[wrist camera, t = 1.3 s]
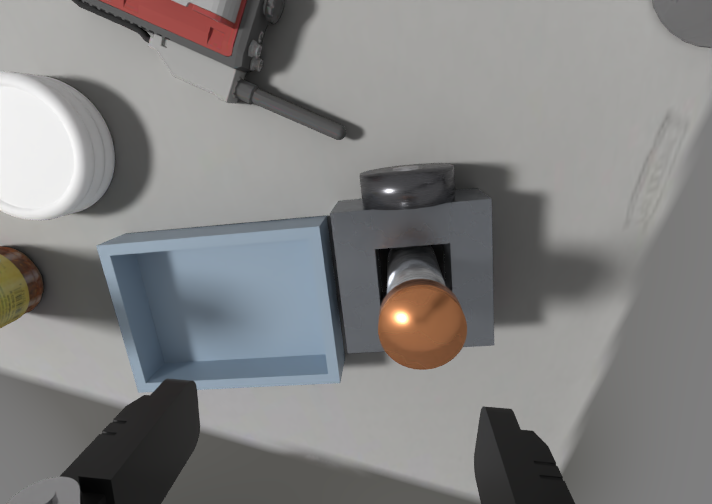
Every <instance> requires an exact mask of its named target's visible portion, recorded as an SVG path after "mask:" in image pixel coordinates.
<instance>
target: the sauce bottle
mask: <svg viewBox="0 0 712 504" xmlns="http://www.w3.org/2000/svg"><path fill="white" fill-rule="evenodd" d="M43 285H44V284H43V281H42V276H41V274H40V272H39V271H38V268H37V267H36V266H35V265H34V264H33V262H32V261H31V260H30V259H29V258H28V257H27V256H26V255H25V254H23V253H22V252H20V251H18V250H15V249H13V248H10V247H2V246H0V328H2V327H4V326H5V325H7V324H9V323H11V322H13V321H15V320H17V319H18V318H20V317H21V316H22V315H23V314H25V313H27V312H30V311H31V310H32V309H34V308H35V307H36V306H37V305H38V303H39V302H40V300H41V296H42V293H43V290H44V289H43Z"/></svg>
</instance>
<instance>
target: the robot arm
mask: <svg viewBox="0 0 712 504" xmlns="http://www.w3.org/2000/svg"><path fill="white" fill-rule="evenodd" d="M652 3H653V7H654V9H655V11H656V13H657V15H658V17H659V19H660V21H661V22H662V23H663V24H664V26H665V27H666V28H667V29H668V30H669V31H670V32H671V33H672V34H673V35H675V36H677V37H678V38H680V39H681V40H683V41H685V42H688V43H691V44H694V45H697V46H704V47H712V0H652ZM199 432H200V420H199V409H198V397H197V386H196V383H195V382H194V381H192V380H180V379H165V380H164V381H163V382H162V383H161V384H160V385H159V386H158V387H157V389H156V390H155V391H154V392H153V393H152V394H151V395H150V396H149V395H144V396H142V397H140V398H139V399H137V400H135V401H134V402H132V403H131V404H129V405H127V406H126V407H125V408H124V409H123V410H122V411H121V412H120V413H119V414H118V415H117V416H116V418H114V420H113V422H112V423H110V424H109V425H108V426H107V427H106V428H105V429H104V430H103V431H102V434H99V435H98V436H97V437H96V439H95V440H94V441H93V442H92V443H91V444H90V445H89V446H88V447H87V448H86V449H85V450H84V451H83V452H82V453H81V454H80V455H79V457H78V458H77V459H76V460H75V461H74V462H73V463H72V464H71V465H70V466H69V467H68V468H67V469H66V470H65V471H64V472H63V473H62V474H61V476H60V477H52V478H48V479H44V480H41V481H38V482H36V483H34V484H31V485H29V486H27V487H26V488H24V489H22V490H21V491H19V492H18V493H17V494H15V495H14V496H13V497H12V498H11V499H10V500H9V501H8V502H7V503H6V504H161V503H162V501H163V500H164V498H165V496H166V495H167V493H168V491H169V490H170V488H171V487H172V485H173V483H174V482H175V480H176V478H177V477H178V475H179V474H180V472H181V470H182V469H183V467H184V465H185V464H186V462H187V460H188V459H189V457H190V456H191V454H192V452H193V451H194V449H195V447H196V444H197V441H198V438H199ZM474 470H475V478H476V483H477V487H478V491H479V496H480V500H481V504H575V503H574V500H573V498H572V496H571V494H570V492H569V490H568V488H567V486H566V483H565V481H563V479H562V475H561V473H560V471H559V469H558V466H556V462H555V460H554V458H553V456H552V454H551V452H550V449H549V447H548V446H547V445H546V444H545V443H544V442H543V441H542V440H541V439H540V438H539V437H538V436H537V435H536V433H535V432H534V431H528V430H521V429H520V427H519V424H518V422H517V419H516V417H515V415H514V412H513V411H512V409H505V408H494V407H482V409H481V413H480V420H479V426H478V433H477V440H476V447H475V454H474Z"/></svg>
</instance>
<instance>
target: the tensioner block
mask: <svg viewBox="0 0 712 504" xmlns="http://www.w3.org/2000/svg"><path fill="white" fill-rule="evenodd" d="M360 184H361V193H362V199H355V200H344V201H338V202H337V204H336V205H335V207H334V208H333V210H332V211H331V213H330V216H331V224H332V232H333V240H334V248H335V256H336V264H337V272H338V280H339V288H340V296H341V304H342V312H343V320H344V328H345V336H346V344H347V352H348V353H363V352H381V351H385V350H384V349H383V347H382V345H381V343H380V340H379V335H378V320H379V310H380V306H381V304H382V301H383V299H384V298H385V296H386V295H387V292H383V291H382V280H381V270H380V259H379V249H384V248H397V247H409V246H422V245H434V244H443V254H444V274H445V285H446V287H447V288H449V289H450V290H451V291H452V292H453V293H454V295H455V296H456V297H457V299H458V301H459V303H460V305H461V308H462V311H463V313H464V316H465V319H466V322H467V336H466V340H465V343H464V345H463V347H472V346H491V345H494V306H493V247H492V199H491V198H490V197H489V196H487V195H486V194H485V193H483V192H482V191H481V190H479V189H478V188H473V189H462V190H455V179H454V165H452V164H444V163H431V164H413V165H403V166H394V167H387V168H380V169H375V170H370V171H366V172H363V173H361V174H360Z"/></svg>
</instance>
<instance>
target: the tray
mask: <svg viewBox="0 0 712 504" xmlns="http://www.w3.org/2000/svg"><path fill="white" fill-rule="evenodd" d="M97 250H98V253H99V257H100V260H101V264H102V267H103V271H104V274H105V278H106V281H107V285H108V288H109V292H110V295H111V299H112V302H113V305H114V309H115V312H116V316H117V319H118V323H119V326H120V330H121V333H122V337H123V340H124V344H125V347H126V351H127V354H128V358H129V361H130V365H131V368H132V371H133V375H134V378H135V382H136V385H137V389H138V392H154V391H155V390H156V389H157V387H158V386H159V385H160V384H161V383H162V382H163V381H164V380H165V379H180V380H192V381H194V382H195V383H196V386H197V390H202V389H223V388H244V387H265V386H286V385H307V384H328V383H340V381H341V376H342V371H343V366H344V361H345V355H344V347H343V339H342V331H341V323H340V315H339V308H338V300H337V292H336V284H335V276H334V268H333V261H332V253H331V245H330V237H329V229H328V221H327V216H316V217H305V218H293V219H282V220H271V221H260V222H249V223H238V224H226V225H215V226H204V227H193V228H182V229H171V230H159V231H148V232H137V233H126V234H123V235H121V236H119V237H116V238H114V239H111V240H109V241H107V242H104V243H102V244H99V245H97Z"/></svg>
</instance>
